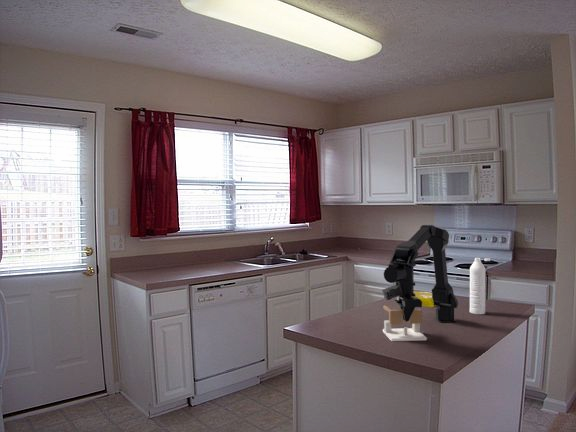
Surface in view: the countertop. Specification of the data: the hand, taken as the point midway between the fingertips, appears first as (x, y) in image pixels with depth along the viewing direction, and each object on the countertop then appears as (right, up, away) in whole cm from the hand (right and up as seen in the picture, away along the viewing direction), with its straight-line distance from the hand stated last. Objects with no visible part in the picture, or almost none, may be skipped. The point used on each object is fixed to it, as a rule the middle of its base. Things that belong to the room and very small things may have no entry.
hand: (405, 320), depth 162 cm
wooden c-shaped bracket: (0, -1, +4) cm, 4 cm away
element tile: (+23, -5, +55) cm, 60 cm away
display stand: (0, -6, +2) cm, 7 cm away
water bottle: (+42, -5, +33) cm, 54 cm away
